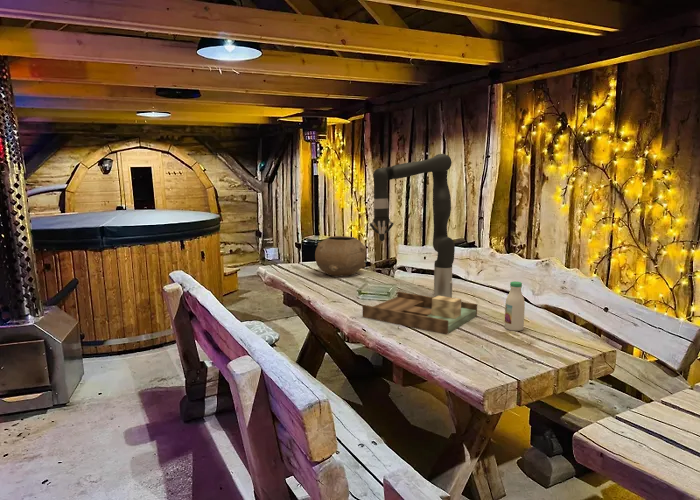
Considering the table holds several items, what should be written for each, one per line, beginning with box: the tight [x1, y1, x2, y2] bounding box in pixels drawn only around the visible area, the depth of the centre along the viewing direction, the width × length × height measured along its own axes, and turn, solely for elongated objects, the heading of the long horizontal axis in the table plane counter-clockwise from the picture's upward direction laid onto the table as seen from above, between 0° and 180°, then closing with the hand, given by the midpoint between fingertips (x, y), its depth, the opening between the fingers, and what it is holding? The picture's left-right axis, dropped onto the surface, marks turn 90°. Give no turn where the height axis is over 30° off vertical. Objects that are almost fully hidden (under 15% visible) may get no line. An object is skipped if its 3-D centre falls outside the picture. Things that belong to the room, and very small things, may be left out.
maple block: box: [432, 296, 462, 319], centre depth 209 cm, size 11×6×8 cm, turn 53°
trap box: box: [362, 291, 478, 335], centre depth 218 cm, size 42×32×6 cm
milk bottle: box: [504, 280, 526, 332], centre depth 199 cm, size 8×8×20 cm
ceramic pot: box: [314, 235, 367, 277], centre depth 313 cm, size 33×34×25 cm
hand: (382, 241), depth 245 cm, fingers closed
